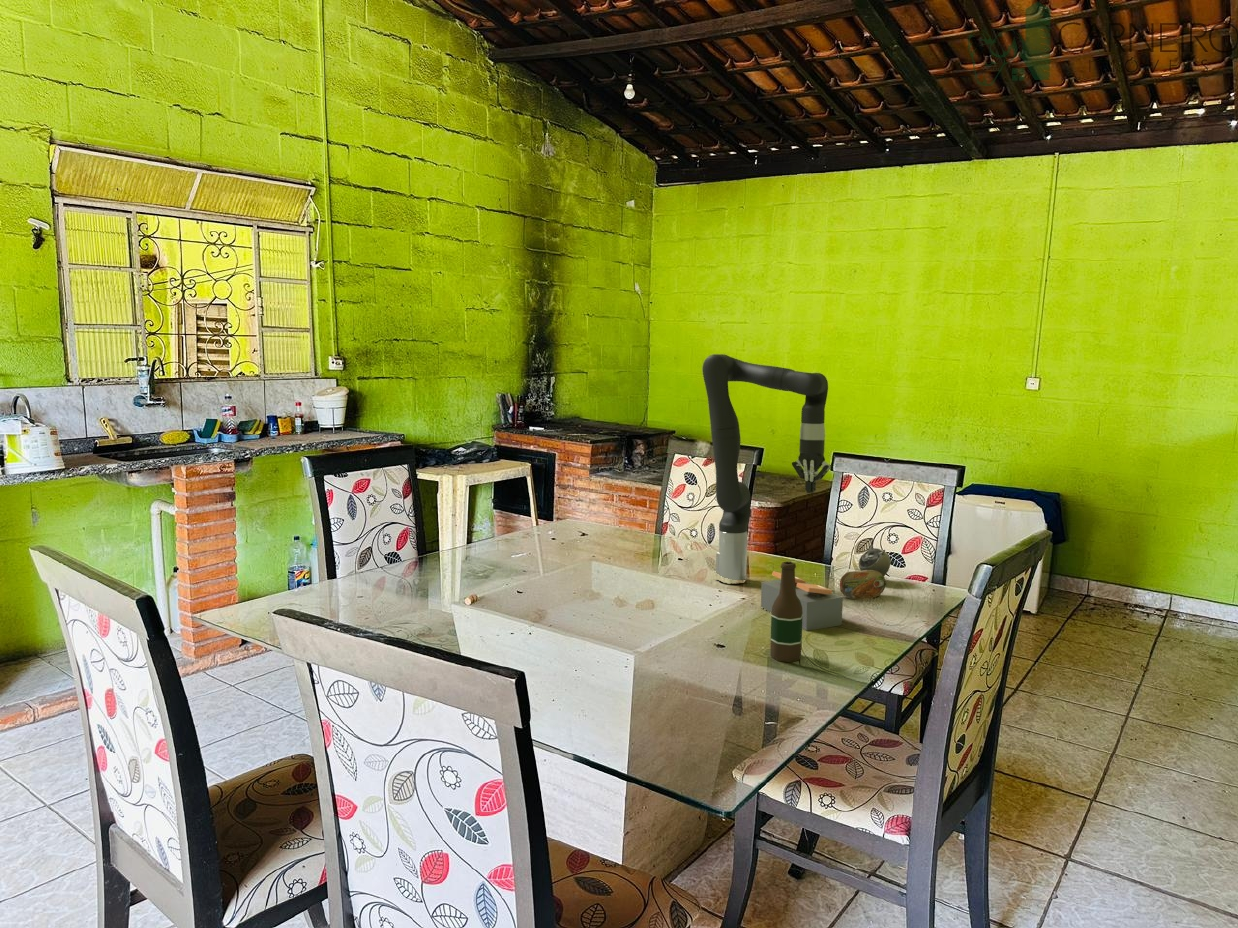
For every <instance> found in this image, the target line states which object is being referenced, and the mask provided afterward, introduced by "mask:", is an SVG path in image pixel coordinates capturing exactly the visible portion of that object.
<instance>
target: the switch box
mask: <svg viewBox="0 0 1238 928" xmlns="http://www.w3.org/2000/svg"><path fill="white" fill-rule="evenodd" d="M780 584H781V579H780V578H779V579H774V580H765V581H761V586H760V589H761V591H760V592H761V593H760V608H761V607H763V608H764V609H766V610H767V611H766V610H765V611H766V612H768V611H769V612H768V613H770V612H771V613H772V606H773V604H774V601H775V599H776V598H777V597H778V595H779V592H780ZM805 584H811V583H809V582H807V581H806V582H805ZM796 586H797V583H795V589H796V595H797V597H798V598H799V600H800V602H801V605H802V612H803V618H802V630H804V631H806V632H807V631H808V632H809V631H814V630H819V629H826V628H827V629H828V628H832V627H837V626H842V625H843V602H844V597H843V596H841V595H838V594H836V593H834V592H832V594H831V595H830V594H821V593H812V592H807V591H805V590H802V589H800V588H798V587H796ZM764 609H763V610H764ZM771 613H770V614H771Z"/></svg>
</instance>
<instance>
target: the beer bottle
mask: <svg viewBox="0 0 1238 928" xmlns="http://www.w3.org/2000/svg"><path fill="white" fill-rule="evenodd" d="M780 568H781V572H780V573H781V584H780V592H779V595H778V597H777V598H776V599H775V601H774V604H773V606H772V613H770V614H771V615H770V648H769V649H770V657H771V659H774V660H776V661H777V662H784V663H794V662H799V661H800V658H801V656H802V647H803V646H802V643H803V642H802V641H803V629H802V618H803V612H802V605H801V602H800V600H799V598H798V597H797V595H796V589H795V577H796V568H797V566H796V563H795V562H792V561H783V562H781V565H780Z"/></svg>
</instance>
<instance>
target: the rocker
mask: <svg viewBox="0 0 1238 928" xmlns="http://www.w3.org/2000/svg"><path fill="white" fill-rule="evenodd" d="M781 573H782V572H778V571H772V573H771V575H772V576H773V577H775V578H777V579H779V580H780V579H781ZM805 582H807V581H806V580H804V579H802V578H800V577H797V576H795V583H804V584H805Z"/></svg>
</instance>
